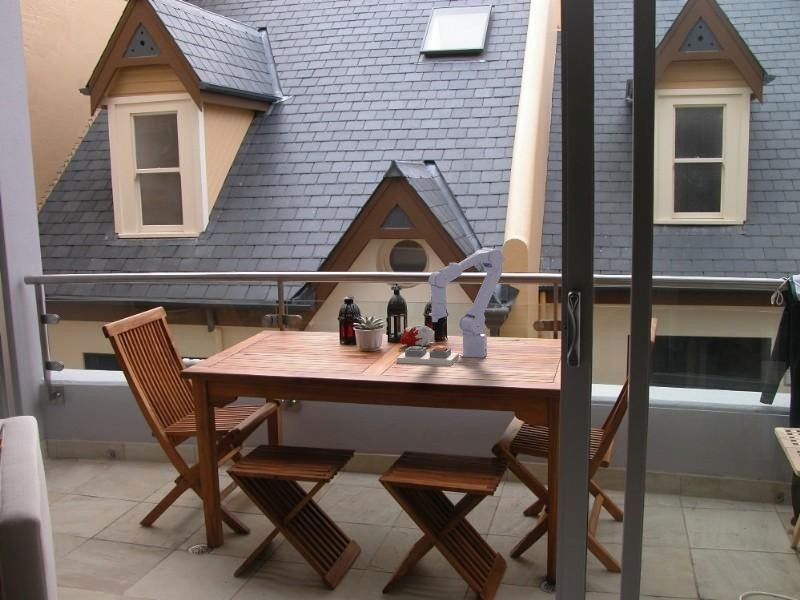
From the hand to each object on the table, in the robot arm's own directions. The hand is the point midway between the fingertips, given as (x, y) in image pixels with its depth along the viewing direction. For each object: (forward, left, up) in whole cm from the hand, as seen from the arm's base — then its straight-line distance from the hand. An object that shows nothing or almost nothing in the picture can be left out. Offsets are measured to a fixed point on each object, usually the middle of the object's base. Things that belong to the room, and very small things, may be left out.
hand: (439, 336), depth 314 cm
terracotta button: (-1, +2, -6) cm, 6 cm away
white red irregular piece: (+17, -22, -10) cm, 30 cm away
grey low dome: (+9, +2, -7) cm, 12 cm away
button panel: (+4, +2, -9) cm, 10 cm away
